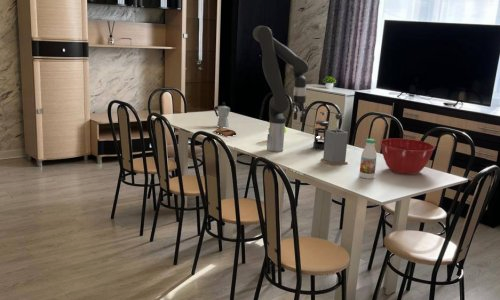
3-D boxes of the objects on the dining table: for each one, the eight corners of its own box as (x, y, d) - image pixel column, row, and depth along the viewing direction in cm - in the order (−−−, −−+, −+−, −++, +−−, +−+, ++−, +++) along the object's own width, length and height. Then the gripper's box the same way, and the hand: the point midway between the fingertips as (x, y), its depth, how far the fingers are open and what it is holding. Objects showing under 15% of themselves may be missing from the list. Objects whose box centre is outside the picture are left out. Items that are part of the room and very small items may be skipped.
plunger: (334, 140, 285) (336, 114, 281) (328, 138, 290) (330, 112, 287) (344, 140, 287) (346, 114, 284) (337, 137, 293) (340, 112, 290)
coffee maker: (233, 127, 376) (234, 103, 371) (226, 129, 368) (227, 104, 364) (216, 124, 383) (217, 100, 379) (209, 126, 376) (210, 101, 372)
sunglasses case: (210, 131, 355) (215, 123, 356) (217, 136, 360) (222, 127, 361) (226, 137, 342) (230, 128, 343) (233, 141, 347) (237, 132, 347)
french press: (317, 150, 319) (320, 113, 313) (308, 146, 327) (311, 111, 321) (332, 149, 324) (336, 113, 319) (323, 145, 332) (326, 110, 327)
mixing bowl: (406, 181, 262) (409, 151, 258) (366, 167, 285) (369, 140, 282) (442, 175, 277) (446, 147, 273) (401, 162, 300) (404, 136, 297)
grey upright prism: (330, 165, 285) (333, 133, 281) (320, 160, 295) (323, 129, 290) (347, 164, 289) (350, 132, 285) (336, 159, 299) (339, 129, 295)
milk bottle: (357, 174, 269) (361, 137, 264) (371, 175, 270) (375, 138, 265) (361, 179, 262) (365, 140, 257) (376, 179, 262) (380, 141, 258)
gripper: (288, 93, 314) (287, 119, 318) (299, 96, 301) (298, 123, 305) (299, 92, 317) (298, 118, 321) (311, 96, 304) (309, 122, 308)
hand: (298, 120), depth 313 cm, fingers open, 8 cm apart
